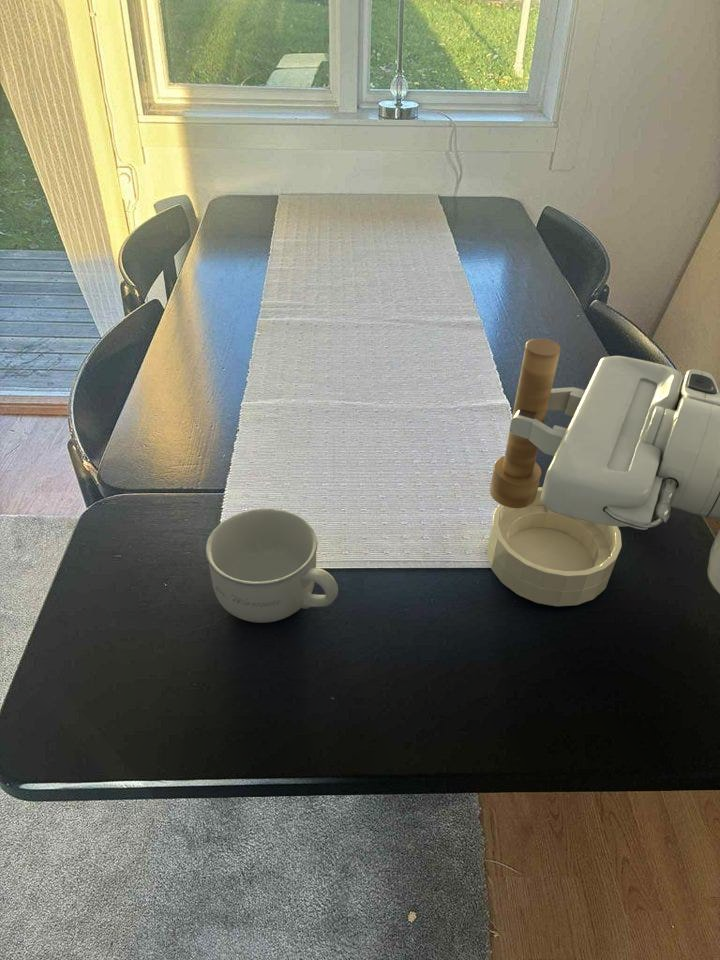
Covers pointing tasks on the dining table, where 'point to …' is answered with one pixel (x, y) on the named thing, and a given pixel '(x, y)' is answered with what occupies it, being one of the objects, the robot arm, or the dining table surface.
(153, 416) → the dining table surface
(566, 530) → the bowl
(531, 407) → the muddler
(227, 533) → the teacup
